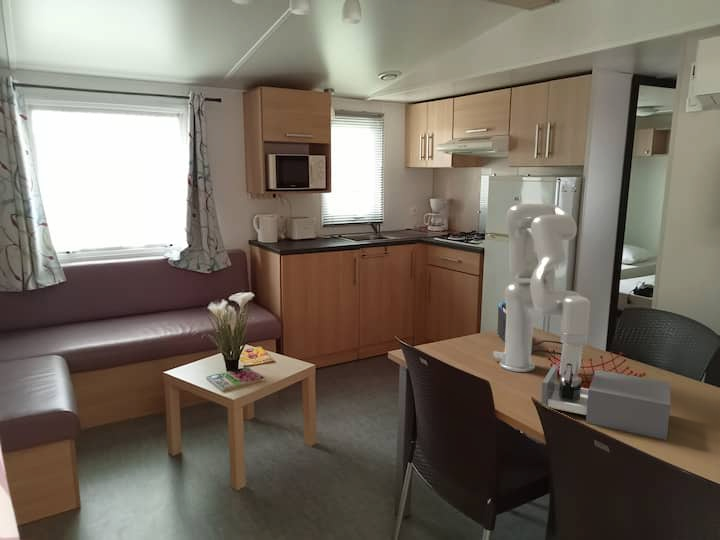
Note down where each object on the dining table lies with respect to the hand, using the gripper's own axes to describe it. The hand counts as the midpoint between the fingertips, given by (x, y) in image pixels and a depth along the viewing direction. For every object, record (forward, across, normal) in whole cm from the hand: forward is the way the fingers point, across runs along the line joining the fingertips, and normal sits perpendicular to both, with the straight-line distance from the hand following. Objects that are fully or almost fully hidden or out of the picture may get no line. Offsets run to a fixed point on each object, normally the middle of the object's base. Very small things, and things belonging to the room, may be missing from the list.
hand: (569, 393), depth 159 cm
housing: (+4, 0, +16) cm, 17 cm away
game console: (+4, -55, -31) cm, 64 cm away
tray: (+3, 0, +3) cm, 4 cm away
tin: (+1, 0, 0) cm, 1 cm away
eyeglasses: (+5, -50, -15) cm, 52 cm away
